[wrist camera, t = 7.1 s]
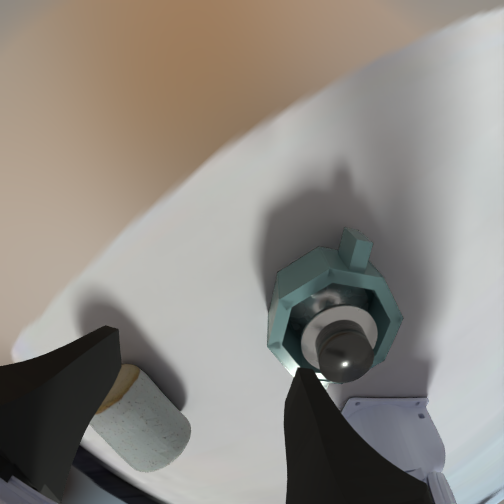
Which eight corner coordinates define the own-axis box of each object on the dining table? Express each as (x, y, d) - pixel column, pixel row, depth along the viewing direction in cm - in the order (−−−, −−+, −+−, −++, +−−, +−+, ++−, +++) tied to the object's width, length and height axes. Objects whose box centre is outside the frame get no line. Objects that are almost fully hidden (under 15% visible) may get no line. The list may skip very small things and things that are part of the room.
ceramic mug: (146, 348, 23) (108, 409, 16) (200, 409, 25) (181, 473, 18) (80, 374, 26) (45, 421, 18) (129, 425, 28) (104, 474, 20)
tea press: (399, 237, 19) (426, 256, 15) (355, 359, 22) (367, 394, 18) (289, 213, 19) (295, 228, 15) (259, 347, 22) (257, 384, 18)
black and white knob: (376, 277, 19) (411, 323, 13) (352, 344, 21) (373, 400, 15) (299, 263, 19) (311, 309, 13) (281, 334, 21) (283, 394, 15)
